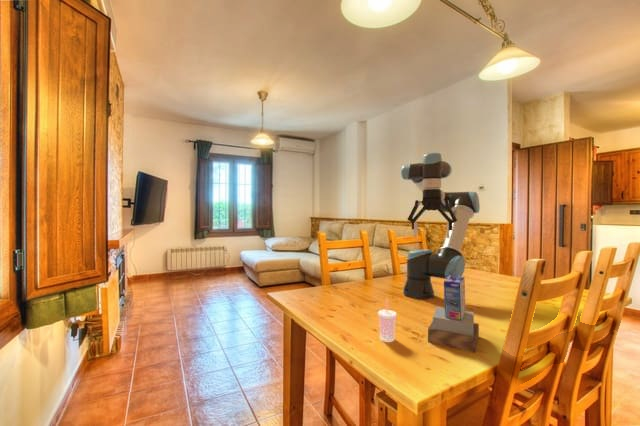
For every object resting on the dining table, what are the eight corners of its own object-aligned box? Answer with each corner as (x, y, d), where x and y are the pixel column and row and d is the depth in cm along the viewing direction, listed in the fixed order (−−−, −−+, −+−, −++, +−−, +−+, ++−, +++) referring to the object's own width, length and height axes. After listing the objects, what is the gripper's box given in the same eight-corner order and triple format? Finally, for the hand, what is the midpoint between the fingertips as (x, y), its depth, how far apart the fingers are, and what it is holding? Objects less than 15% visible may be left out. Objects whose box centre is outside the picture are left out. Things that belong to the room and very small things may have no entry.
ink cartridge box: (448, 309, 106) (448, 268, 106) (465, 311, 103) (465, 270, 103) (443, 317, 98) (443, 273, 97) (461, 320, 95) (461, 275, 94)
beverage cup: (391, 344, 96) (391, 301, 96) (374, 339, 100) (374, 298, 100) (399, 338, 101) (399, 297, 100) (383, 333, 105) (383, 294, 104)
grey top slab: (432, 329, 98) (432, 317, 98) (436, 317, 108) (436, 306, 108) (473, 336, 92) (473, 323, 92) (473, 323, 103) (473, 312, 103)
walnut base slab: (427, 343, 98) (428, 328, 98) (436, 329, 110) (436, 315, 110) (475, 354, 91) (475, 338, 91) (478, 338, 103) (478, 323, 103)
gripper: (400, 189, 133) (400, 236, 133) (462, 187, 119) (461, 240, 120) (405, 190, 139) (405, 235, 139) (464, 188, 126) (463, 238, 126)
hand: (431, 237), depth 130 cm, fingers open, 13 cm apart
